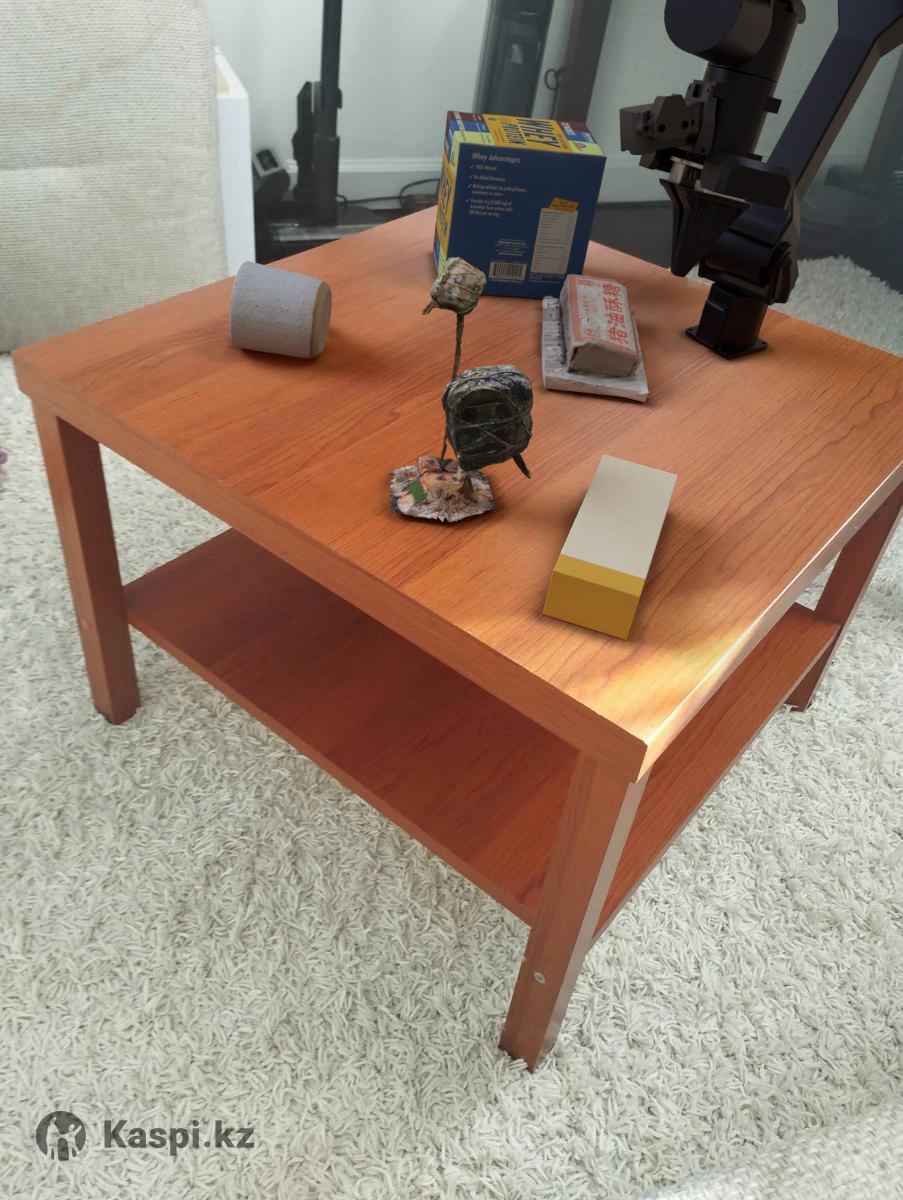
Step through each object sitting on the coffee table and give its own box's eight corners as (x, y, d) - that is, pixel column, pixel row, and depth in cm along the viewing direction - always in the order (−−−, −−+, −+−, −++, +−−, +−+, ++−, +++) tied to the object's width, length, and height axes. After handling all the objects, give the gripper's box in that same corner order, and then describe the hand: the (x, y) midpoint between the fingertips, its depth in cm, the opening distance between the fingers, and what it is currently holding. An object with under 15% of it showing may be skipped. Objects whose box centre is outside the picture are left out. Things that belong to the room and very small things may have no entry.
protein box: (430, 253, 114) (445, 108, 104) (560, 262, 116) (588, 122, 106) (439, 293, 106) (456, 141, 96) (579, 302, 109) (610, 154, 99)
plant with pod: (524, 540, 75) (576, 287, 62) (375, 517, 75) (397, 260, 62) (528, 480, 81) (576, 239, 68) (391, 459, 81) (413, 214, 68)
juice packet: (603, 453, 78) (552, 570, 66) (678, 474, 77) (640, 596, 65) (593, 495, 81) (542, 614, 69) (665, 516, 80) (626, 640, 68)
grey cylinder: (318, 374, 90) (320, 293, 85) (228, 361, 90) (226, 279, 85) (338, 325, 98) (341, 248, 93) (255, 313, 98) (255, 236, 93)
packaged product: (548, 264, 103) (642, 277, 103) (539, 308, 106) (631, 321, 107) (550, 343, 89) (659, 358, 90) (541, 391, 93) (646, 405, 93)
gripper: (612, 48, 84) (562, 237, 91) (692, 51, 68) (624, 280, 75) (729, 80, 87) (672, 261, 94) (833, 90, 71) (754, 308, 78)
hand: (677, 275), depth 85 cm, fingers closed
